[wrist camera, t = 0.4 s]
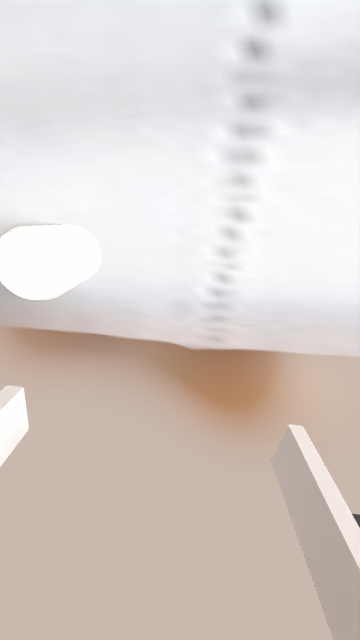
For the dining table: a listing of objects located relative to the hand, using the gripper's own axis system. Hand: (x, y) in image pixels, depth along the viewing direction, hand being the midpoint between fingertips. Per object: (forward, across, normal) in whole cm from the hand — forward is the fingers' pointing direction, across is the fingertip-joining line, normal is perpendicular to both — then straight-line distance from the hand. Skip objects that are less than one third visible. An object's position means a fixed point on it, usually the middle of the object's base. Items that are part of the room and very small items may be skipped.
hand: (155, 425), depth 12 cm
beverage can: (+28, -16, +2) cm, 32 cm away
